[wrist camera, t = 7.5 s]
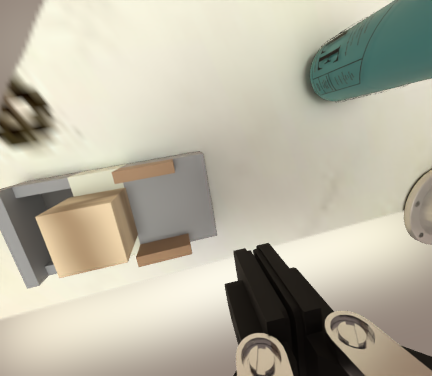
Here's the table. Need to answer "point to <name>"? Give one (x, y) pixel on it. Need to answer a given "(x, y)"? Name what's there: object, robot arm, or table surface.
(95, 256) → the maple block
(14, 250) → the grey open boxy piece
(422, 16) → the beverage bottle
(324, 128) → the table surface
